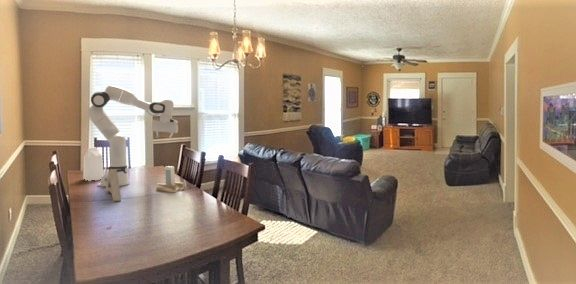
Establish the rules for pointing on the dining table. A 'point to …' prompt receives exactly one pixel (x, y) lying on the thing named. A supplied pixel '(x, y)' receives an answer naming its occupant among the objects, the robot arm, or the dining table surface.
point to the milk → (93, 165)
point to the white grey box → (169, 175)
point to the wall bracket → (113, 185)
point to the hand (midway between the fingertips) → (163, 137)
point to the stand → (170, 187)
